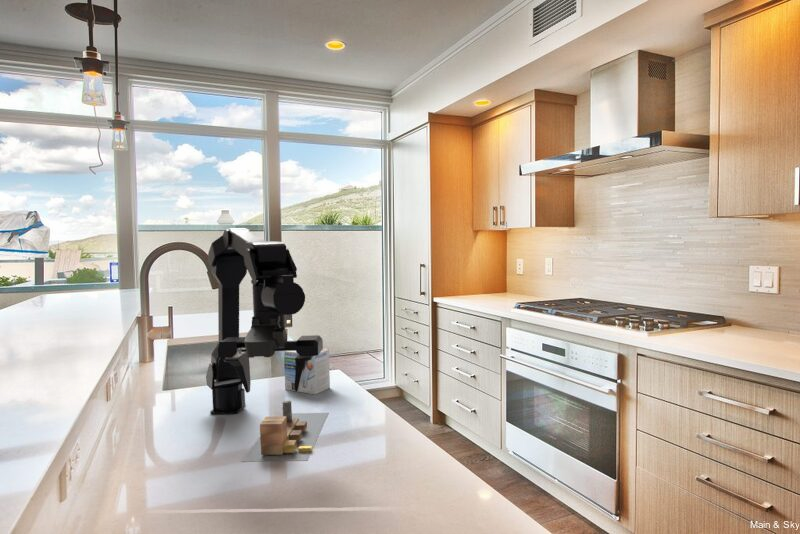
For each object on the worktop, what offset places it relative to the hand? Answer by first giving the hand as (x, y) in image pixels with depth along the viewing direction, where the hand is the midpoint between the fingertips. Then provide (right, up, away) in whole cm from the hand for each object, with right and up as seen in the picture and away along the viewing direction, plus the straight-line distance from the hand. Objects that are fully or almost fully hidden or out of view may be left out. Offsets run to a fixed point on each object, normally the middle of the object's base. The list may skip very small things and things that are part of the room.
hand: (272, 391), depth 95 cm
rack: (+1, -11, +6) cm, 12 cm away
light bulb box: (-1, -10, +42) cm, 43 cm away
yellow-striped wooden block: (0, -10, +1) cm, 10 cm away
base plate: (+1, -12, +9) cm, 15 cm away
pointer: (+6, -11, +1) cm, 13 cm away
